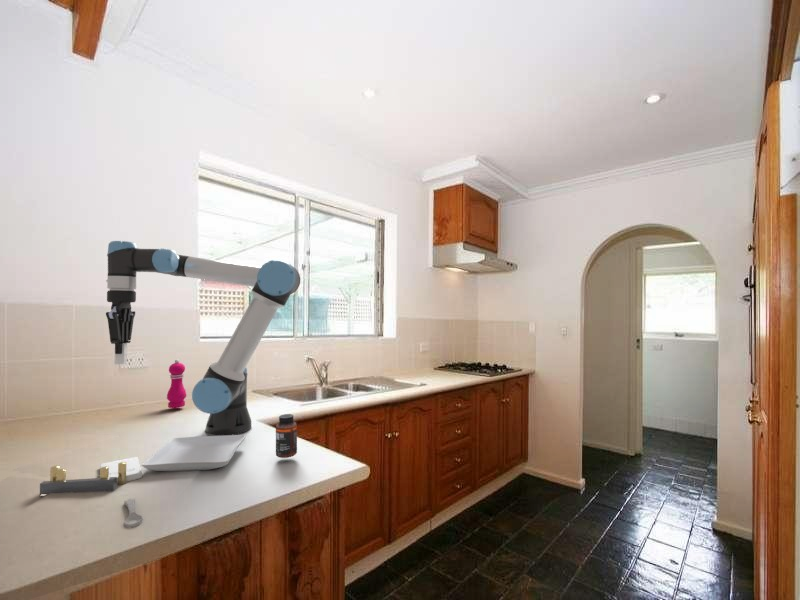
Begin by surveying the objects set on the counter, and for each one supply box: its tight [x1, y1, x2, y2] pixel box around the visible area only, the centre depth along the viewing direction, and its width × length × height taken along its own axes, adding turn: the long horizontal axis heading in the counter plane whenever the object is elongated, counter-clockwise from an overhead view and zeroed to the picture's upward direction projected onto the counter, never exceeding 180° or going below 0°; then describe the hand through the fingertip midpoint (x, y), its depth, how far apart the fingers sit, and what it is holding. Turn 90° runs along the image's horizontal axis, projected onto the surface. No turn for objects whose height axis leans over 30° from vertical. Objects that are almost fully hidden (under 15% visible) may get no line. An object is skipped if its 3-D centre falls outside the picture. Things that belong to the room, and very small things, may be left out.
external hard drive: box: [99, 456, 143, 484], centre depth 99 cm, size 2×8×12 cm
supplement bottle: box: [275, 413, 298, 459], centre depth 112 cm, size 6×6×11 cm
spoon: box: [123, 498, 144, 528], centre depth 79 cm, size 3×12×2 cm, turn 39°
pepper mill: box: [166, 358, 187, 409], centre depth 165 cm, size 7×7×20 cm
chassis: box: [39, 462, 127, 496], centre depth 90 cm, size 16×5×5 cm, turn 99°
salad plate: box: [141, 434, 247, 472], centre depth 109 cm, size 21×21×3 cm
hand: (120, 363), depth 123 cm, fingers closed
